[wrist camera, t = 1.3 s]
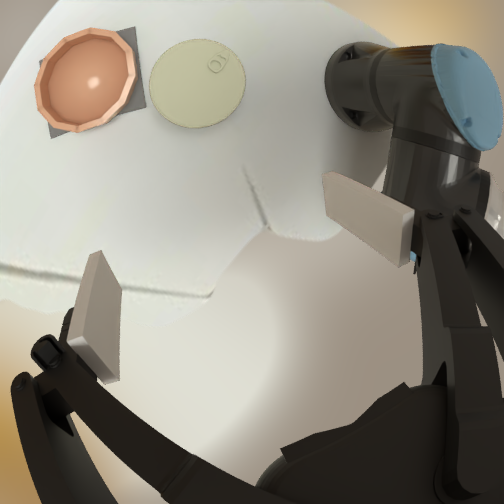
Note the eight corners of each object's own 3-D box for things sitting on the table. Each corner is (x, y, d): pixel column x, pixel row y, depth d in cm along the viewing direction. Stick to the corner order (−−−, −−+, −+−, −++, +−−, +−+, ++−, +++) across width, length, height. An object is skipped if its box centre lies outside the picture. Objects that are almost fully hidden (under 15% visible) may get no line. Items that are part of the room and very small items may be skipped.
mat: (135, 27, 26) (134, 26, 26) (146, 107, 32) (145, 107, 32) (40, 61, 24) (39, 60, 23) (52, 138, 30) (51, 138, 29)
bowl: (131, 23, 25) (128, 15, 23) (144, 112, 32) (141, 112, 29) (41, 55, 23) (31, 52, 20) (54, 142, 30) (44, 145, 27)
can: (238, 85, 34) (267, 77, 24) (194, 136, 36) (204, 148, 26) (186, 45, 30) (194, 20, 19) (140, 98, 31) (127, 93, 21)
